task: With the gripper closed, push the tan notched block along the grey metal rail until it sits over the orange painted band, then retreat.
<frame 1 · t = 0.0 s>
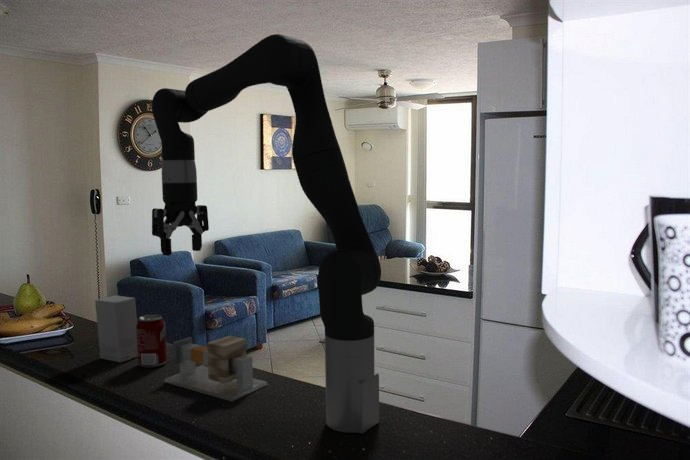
hand: (182, 252, 134), 29 cm above the countertop, fingers open, 8 cm apart
skincare box: (119, 358, 153), on the countertop
tan notched block: (228, 387, 132), resting on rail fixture
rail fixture: (215, 383, 134), on the countertop
soda can: (152, 365, 147), on the countertop
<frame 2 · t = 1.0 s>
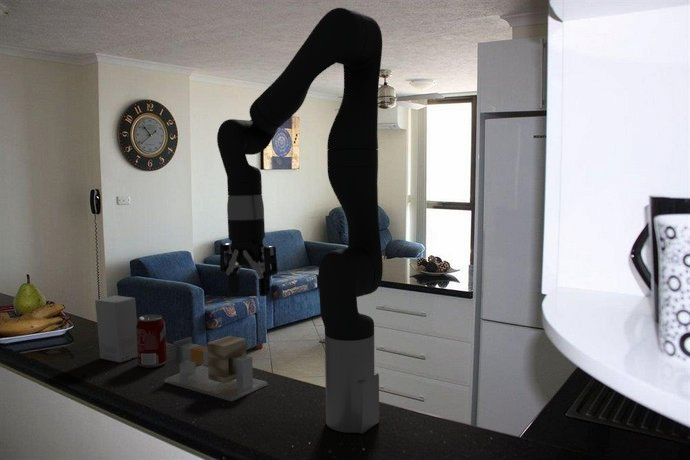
hand: (249, 293, 125), 22 cm above the countertop, fingers open, 8 cm apart
nothing on the countertop moved.
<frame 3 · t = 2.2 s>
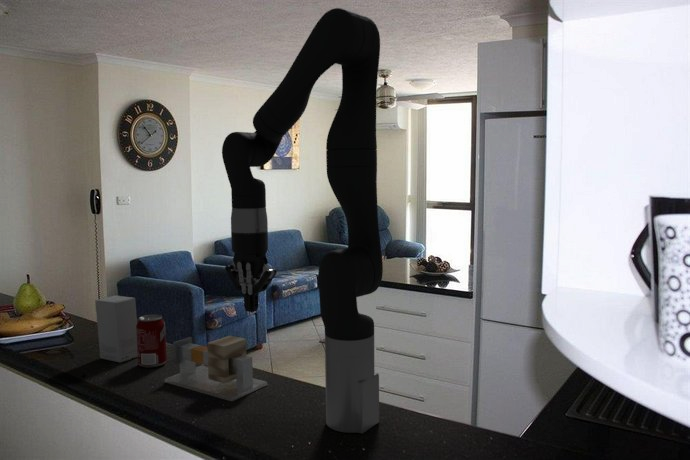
hand: (251, 310, 126), 18 cm above the countertop, fingers closed
nothing on the countertop moved.
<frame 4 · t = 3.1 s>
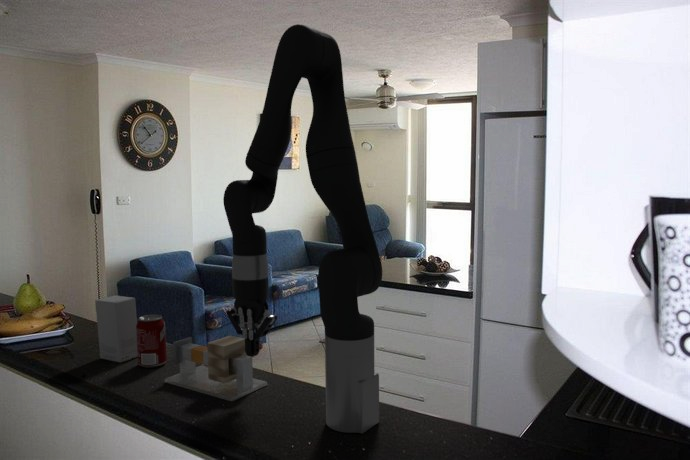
hand: (252, 355, 127), 8 cm above the countertop, fingers closed
nothing on the countertop moved.
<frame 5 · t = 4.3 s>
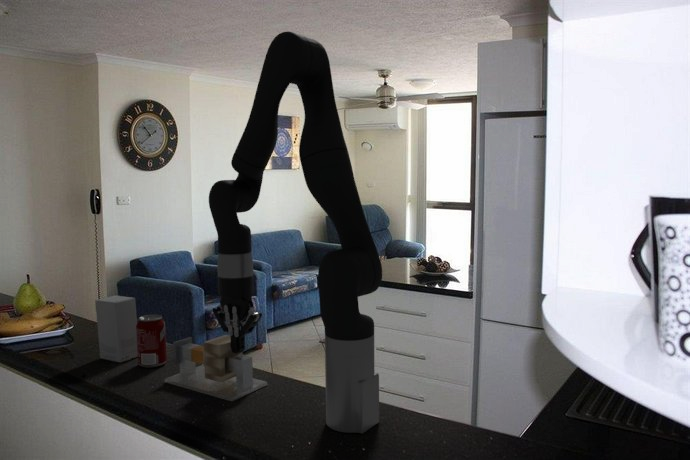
hand: (237, 352, 129), 8 cm above the countertop, fingers closed
tan notched block: (224, 386, 132), resting on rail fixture
everything else where it was.
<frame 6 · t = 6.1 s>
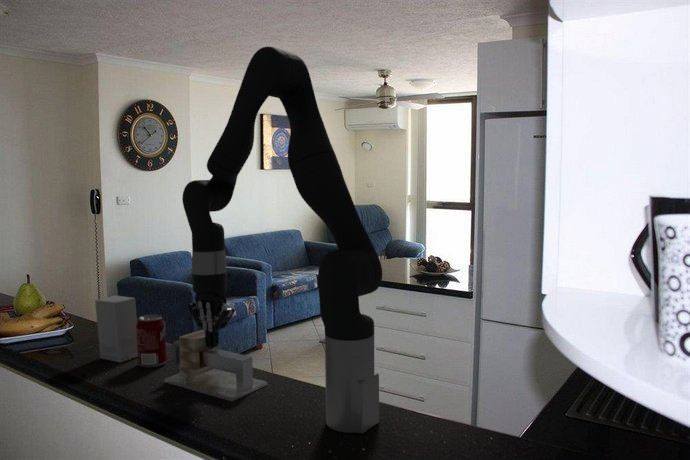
hand: (212, 346, 133), 8 cm above the countertop, fingers closed
tan notched block: (200, 379, 137), resting on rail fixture, touching gripper
everything else where it was.
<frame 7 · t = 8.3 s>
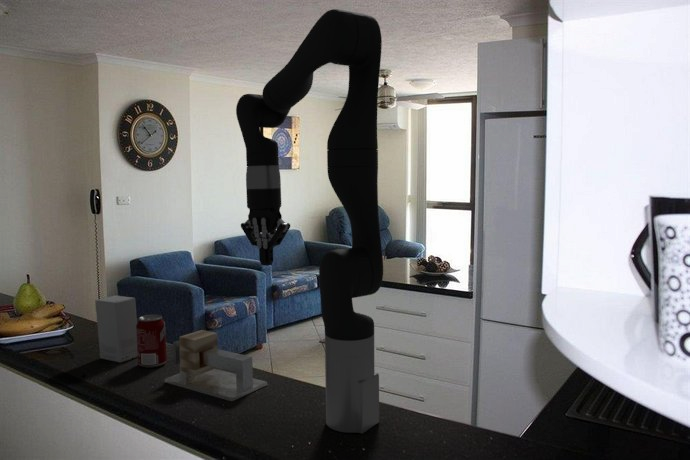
hand: (266, 264, 132), 27 cm above the countertop, fingers closed
tan notched block: (200, 379, 137), resting on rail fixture
everything else where it was.
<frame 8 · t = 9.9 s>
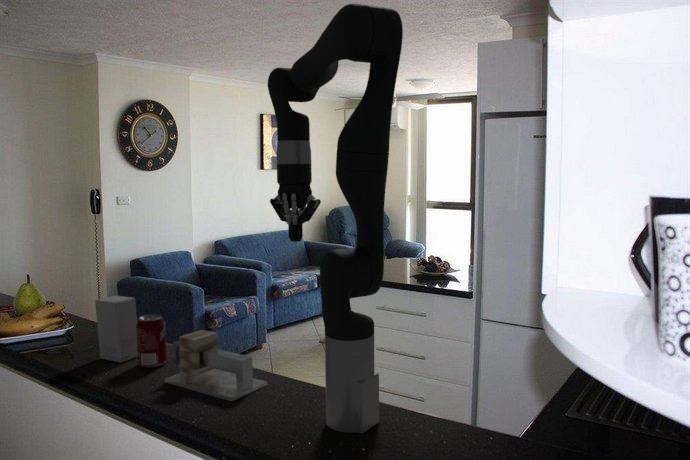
hand: (295, 241, 131), 32 cm above the countertop, fingers closed
nothing on the countertop moved.
at the end: tan notched block 1.0 cm from the target spot, resting on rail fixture; tan notched block tilted 0° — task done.
